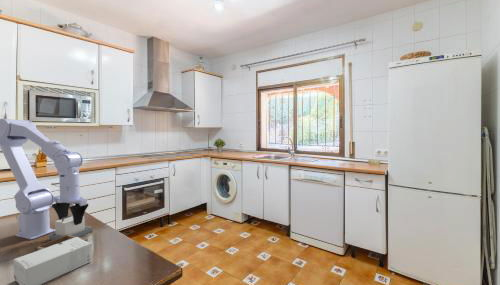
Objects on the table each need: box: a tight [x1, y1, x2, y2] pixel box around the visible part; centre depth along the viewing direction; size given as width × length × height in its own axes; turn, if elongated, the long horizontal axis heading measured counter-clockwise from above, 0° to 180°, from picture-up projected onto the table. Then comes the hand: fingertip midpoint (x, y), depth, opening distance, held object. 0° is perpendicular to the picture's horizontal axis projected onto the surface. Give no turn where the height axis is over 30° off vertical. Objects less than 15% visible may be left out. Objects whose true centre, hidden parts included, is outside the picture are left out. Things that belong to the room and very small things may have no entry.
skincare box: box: [12, 237, 93, 285], centre depth 65 cm, size 8×6×15 cm
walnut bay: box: [34, 235, 89, 252], centre depth 75 cm, size 10×9×3 cm
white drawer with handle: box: [54, 214, 86, 237], centre depth 86 cm, size 5×7×7 cm
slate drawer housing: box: [48, 225, 93, 241], centre depth 87 cm, size 8×10×2 cm
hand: (70, 222), depth 86 cm, fingers open, 7 cm apart
